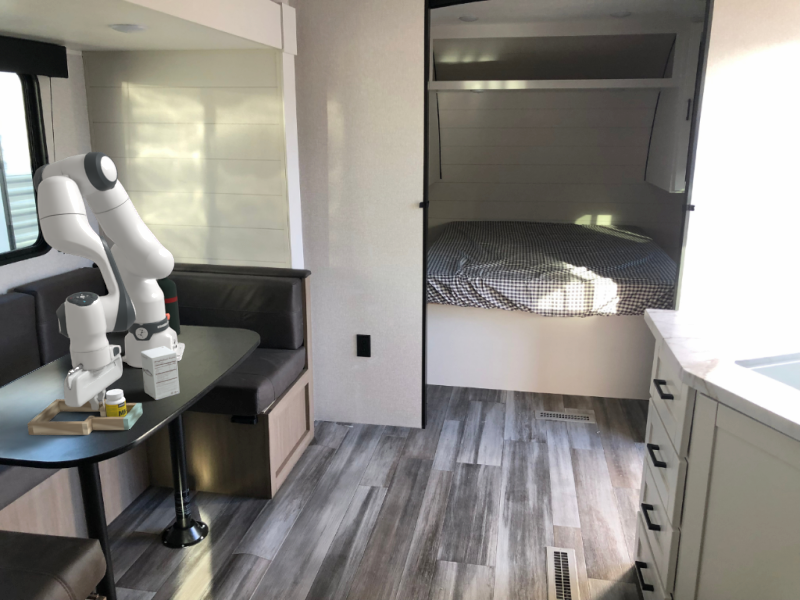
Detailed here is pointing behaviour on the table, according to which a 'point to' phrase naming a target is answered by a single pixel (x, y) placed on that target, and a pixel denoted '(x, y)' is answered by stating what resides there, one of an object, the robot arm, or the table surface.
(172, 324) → the wine bottle
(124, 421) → the keyhole corral
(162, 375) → the supplement box
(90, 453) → the table surface
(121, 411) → the supplement bottle
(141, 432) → the table surface
